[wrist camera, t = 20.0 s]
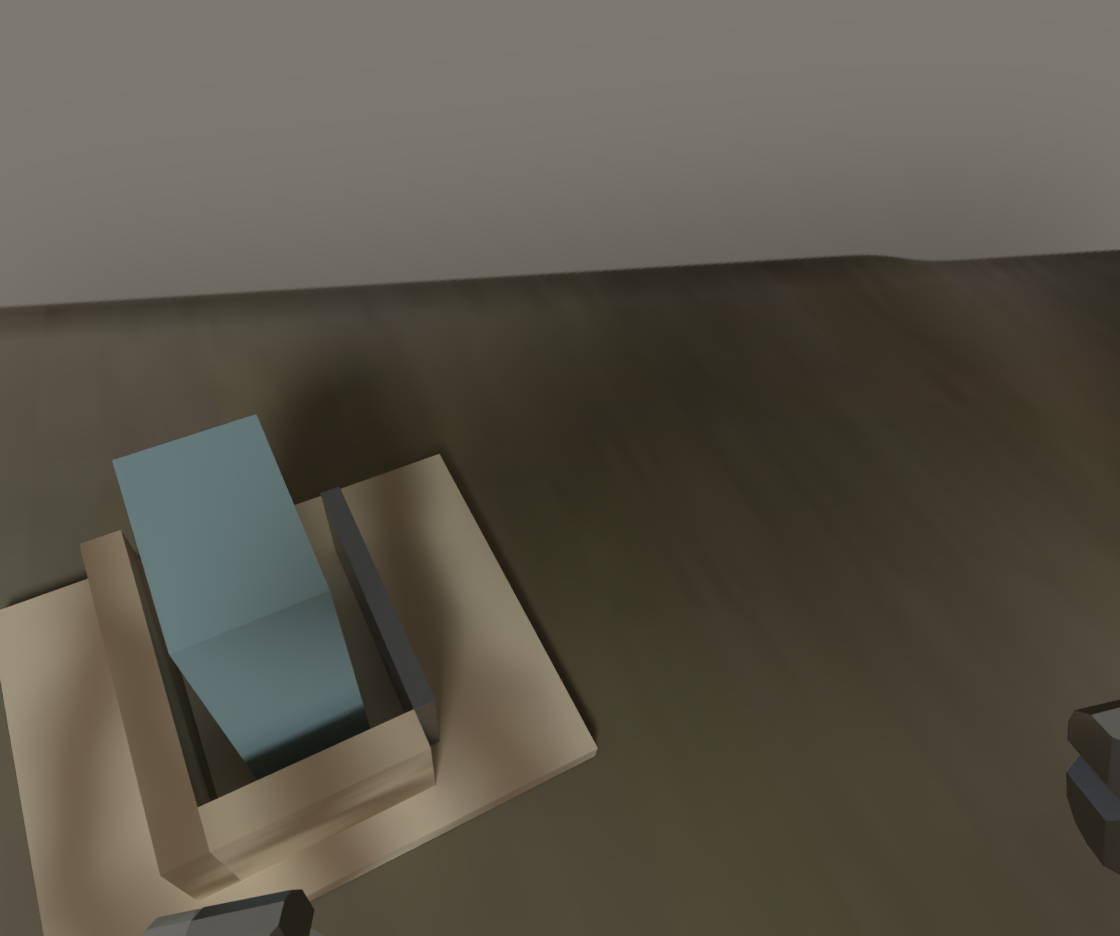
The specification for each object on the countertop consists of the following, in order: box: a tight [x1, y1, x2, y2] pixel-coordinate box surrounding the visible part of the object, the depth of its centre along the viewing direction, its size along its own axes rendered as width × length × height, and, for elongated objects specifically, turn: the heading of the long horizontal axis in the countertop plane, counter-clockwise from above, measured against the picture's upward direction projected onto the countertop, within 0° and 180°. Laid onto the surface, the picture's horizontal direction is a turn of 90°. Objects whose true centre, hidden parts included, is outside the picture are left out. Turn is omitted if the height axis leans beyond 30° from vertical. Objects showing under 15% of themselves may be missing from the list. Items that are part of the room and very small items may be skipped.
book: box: [112, 415, 370, 780], centre depth 30 cm, size 4×7×12 cm, turn 28°
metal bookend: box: [320, 487, 440, 746], centre depth 35 cm, size 1×10×4 cm, turn 27°
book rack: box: [0, 454, 598, 936], centre depth 34 cm, size 20×16×6 cm
